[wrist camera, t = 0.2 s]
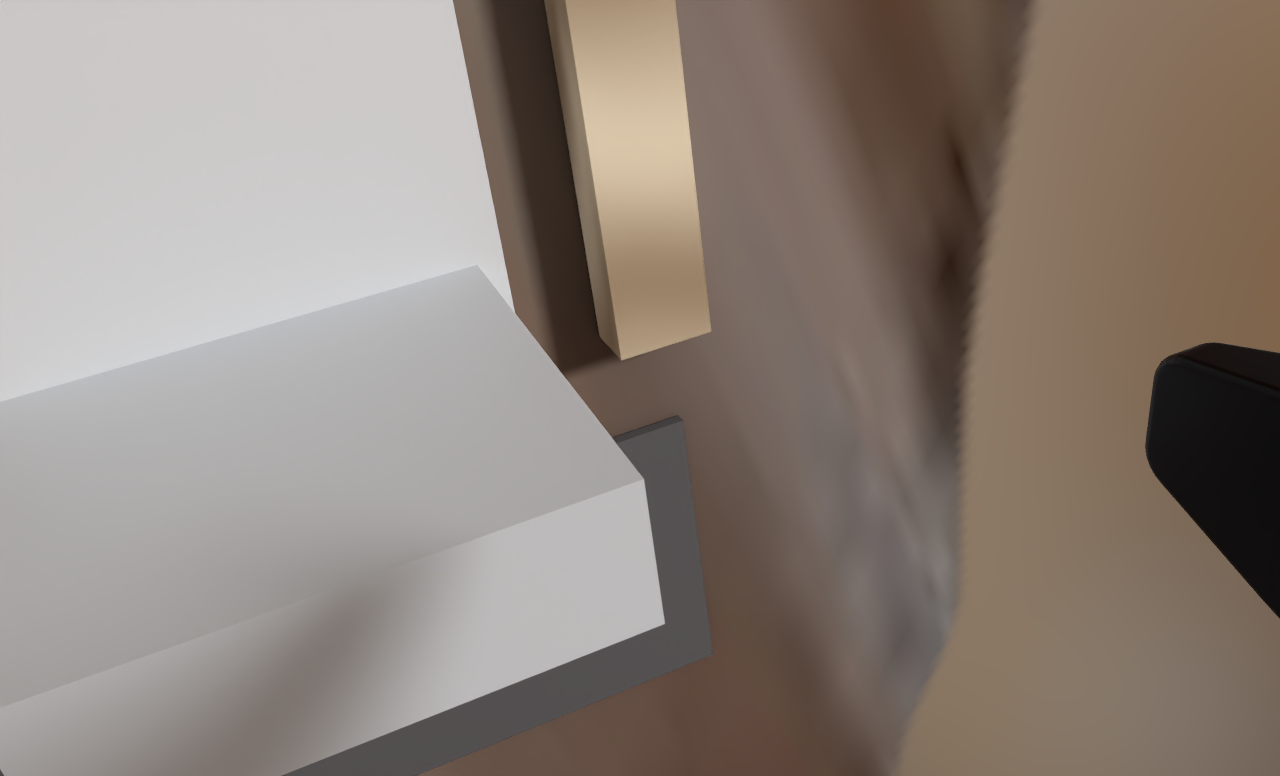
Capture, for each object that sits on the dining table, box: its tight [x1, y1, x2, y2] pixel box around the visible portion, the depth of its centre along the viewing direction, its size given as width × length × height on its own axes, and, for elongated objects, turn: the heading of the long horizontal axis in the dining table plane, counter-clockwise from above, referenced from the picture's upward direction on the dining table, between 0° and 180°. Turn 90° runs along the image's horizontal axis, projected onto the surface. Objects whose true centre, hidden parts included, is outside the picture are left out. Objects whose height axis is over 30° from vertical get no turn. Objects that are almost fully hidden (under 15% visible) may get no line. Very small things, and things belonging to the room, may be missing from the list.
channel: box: [544, 0, 711, 360], centre depth 19 cm, size 14×17×1 cm
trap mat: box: [0, 416, 713, 776], centre depth 26 cm, size 7×16×1 cm, turn 98°
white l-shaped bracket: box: [0, 0, 665, 776], centre depth 15 cm, size 16×9×9 cm, turn 8°
